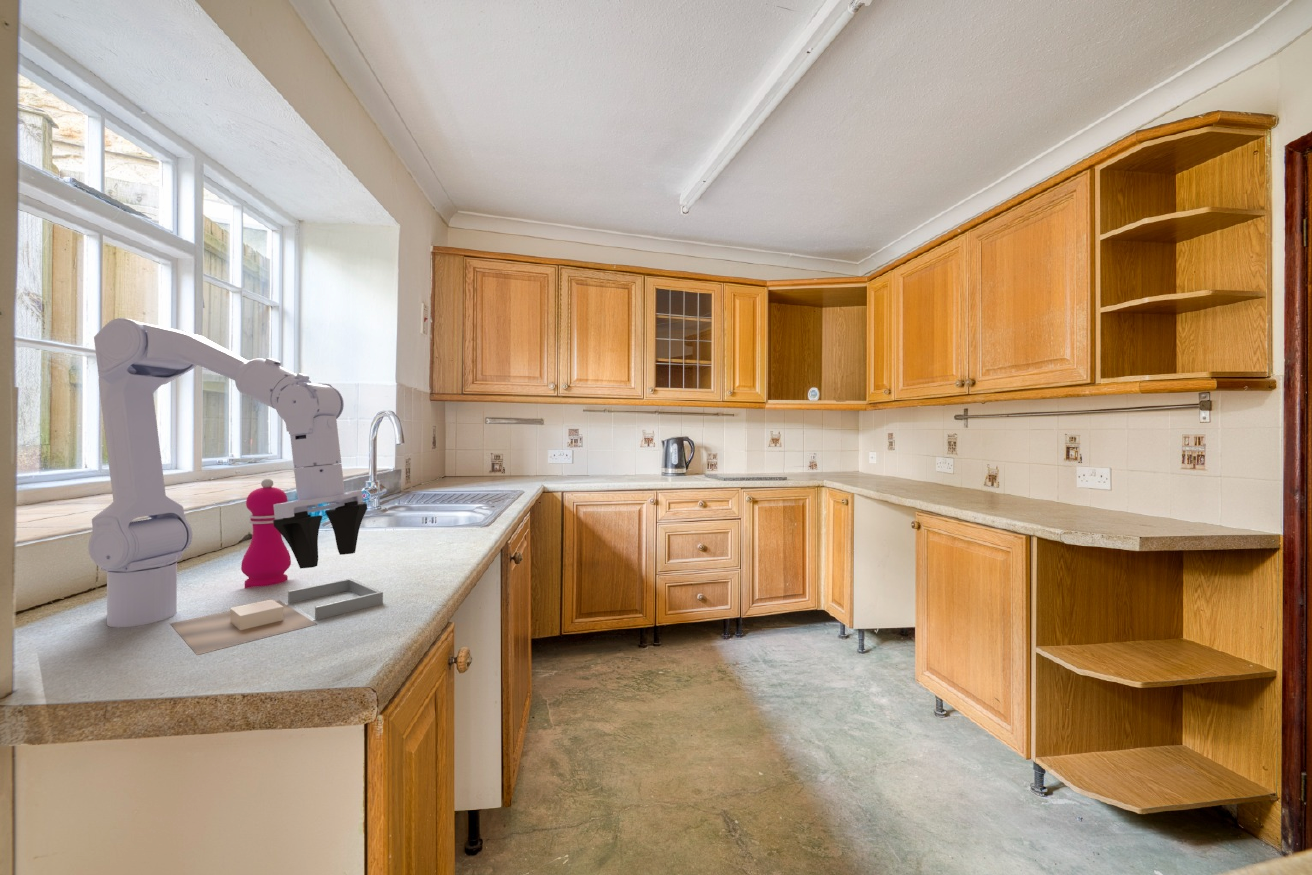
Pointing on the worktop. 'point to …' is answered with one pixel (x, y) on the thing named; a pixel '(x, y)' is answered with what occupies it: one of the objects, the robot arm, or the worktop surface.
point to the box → (365, 600)
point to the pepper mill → (265, 539)
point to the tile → (256, 614)
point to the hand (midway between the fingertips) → (329, 560)
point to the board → (234, 630)
